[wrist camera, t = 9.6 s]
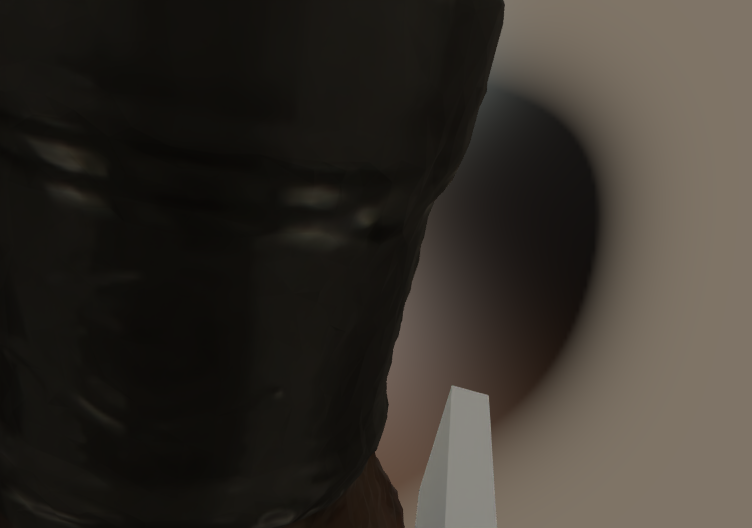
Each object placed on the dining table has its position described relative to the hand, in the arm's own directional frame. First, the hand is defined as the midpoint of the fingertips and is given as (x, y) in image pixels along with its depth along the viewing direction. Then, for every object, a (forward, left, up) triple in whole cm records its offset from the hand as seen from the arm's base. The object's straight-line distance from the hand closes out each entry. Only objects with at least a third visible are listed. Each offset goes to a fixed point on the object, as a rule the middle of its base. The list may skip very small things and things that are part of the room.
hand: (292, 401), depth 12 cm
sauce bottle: (0, -5, -12) cm, 13 cm away
